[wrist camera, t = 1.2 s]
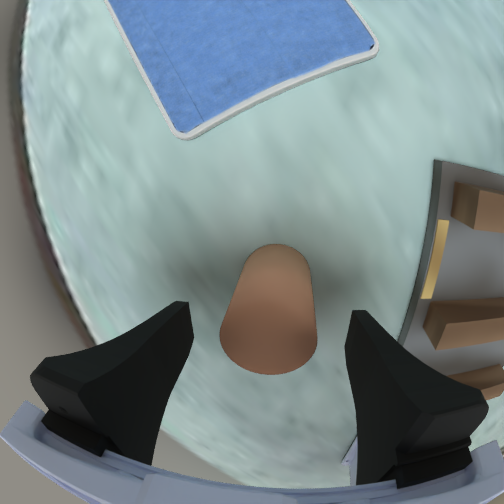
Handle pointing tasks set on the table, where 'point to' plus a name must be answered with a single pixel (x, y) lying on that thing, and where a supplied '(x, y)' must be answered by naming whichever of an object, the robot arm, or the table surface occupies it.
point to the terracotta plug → (271, 313)
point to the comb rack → (461, 280)
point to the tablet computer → (235, 51)
